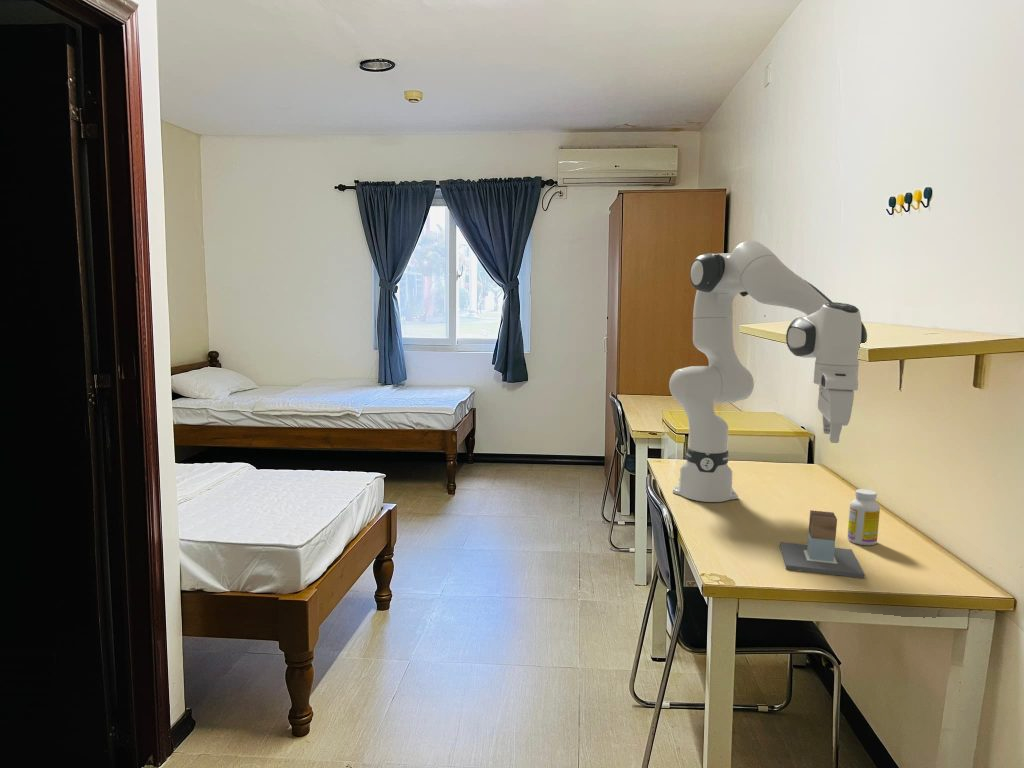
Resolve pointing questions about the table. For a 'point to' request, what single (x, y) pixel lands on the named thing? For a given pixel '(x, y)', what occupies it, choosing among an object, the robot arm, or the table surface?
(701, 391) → the robot arm
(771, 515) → the table surface
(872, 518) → the supplement bottle
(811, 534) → the walnut block
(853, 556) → the dark grey flat slab
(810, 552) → the blue block
